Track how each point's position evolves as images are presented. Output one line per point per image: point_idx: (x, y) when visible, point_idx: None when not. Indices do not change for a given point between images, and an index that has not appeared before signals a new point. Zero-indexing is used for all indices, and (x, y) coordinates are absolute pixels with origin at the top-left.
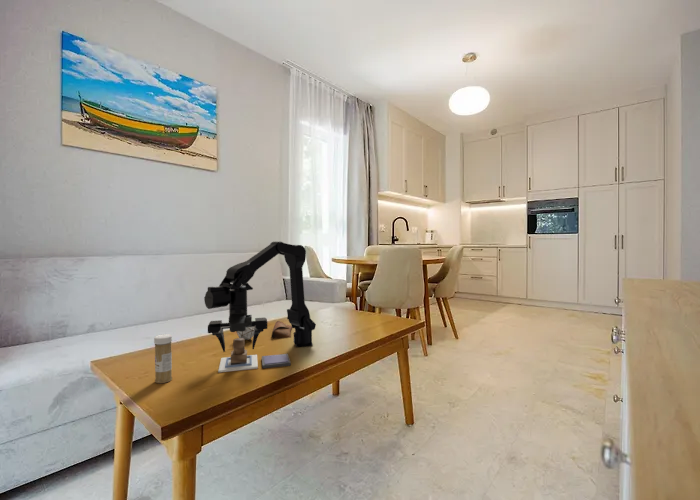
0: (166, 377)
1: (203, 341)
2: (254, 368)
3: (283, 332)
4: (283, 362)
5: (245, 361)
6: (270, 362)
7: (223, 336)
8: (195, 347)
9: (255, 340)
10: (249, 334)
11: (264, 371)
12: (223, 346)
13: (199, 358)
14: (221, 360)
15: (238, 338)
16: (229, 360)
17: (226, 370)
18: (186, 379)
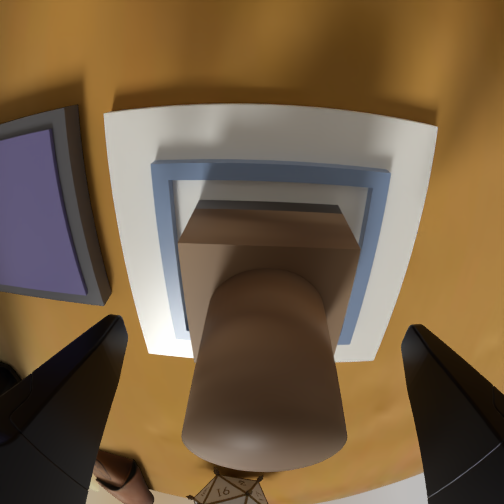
0: None
1: (376, 476)
2: (134, 109)
3: (98, 468)
4: None
5: (206, 208)
6: (18, 152)
7: (447, 479)
8: (416, 450)
9: (40, 374)
10: (216, 493)
11: (67, 44)
12: (448, 361)
13: None
14: (384, 323)
15: (267, 468)
16: None
17: (377, 115)
18: None
